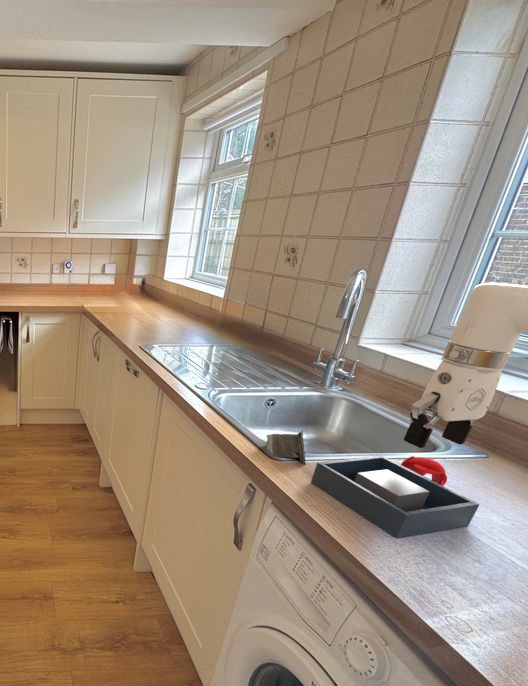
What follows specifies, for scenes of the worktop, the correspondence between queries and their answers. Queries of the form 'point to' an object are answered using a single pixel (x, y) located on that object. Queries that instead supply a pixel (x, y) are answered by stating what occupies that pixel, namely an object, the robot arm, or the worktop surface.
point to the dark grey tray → (435, 515)
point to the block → (393, 489)
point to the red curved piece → (426, 468)
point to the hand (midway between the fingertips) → (432, 442)
